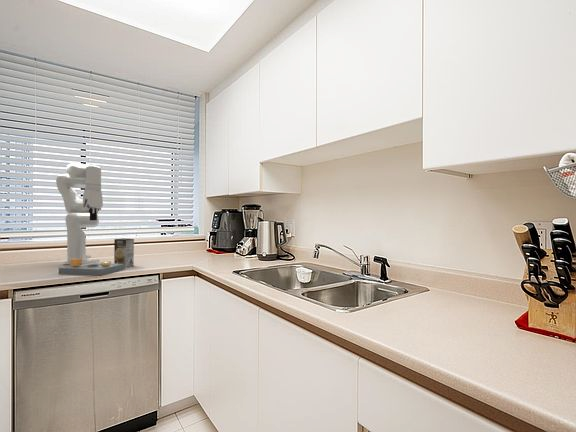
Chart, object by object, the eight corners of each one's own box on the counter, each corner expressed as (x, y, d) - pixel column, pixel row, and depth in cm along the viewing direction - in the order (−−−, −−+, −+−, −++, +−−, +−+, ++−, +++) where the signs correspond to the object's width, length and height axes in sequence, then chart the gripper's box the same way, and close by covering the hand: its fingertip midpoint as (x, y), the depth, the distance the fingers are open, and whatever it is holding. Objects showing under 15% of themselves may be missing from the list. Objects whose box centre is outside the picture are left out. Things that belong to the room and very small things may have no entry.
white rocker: (91, 263, 167) (91, 260, 167) (99, 261, 166) (99, 259, 166) (85, 264, 163) (85, 261, 163) (93, 262, 162) (93, 260, 162)
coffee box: (113, 266, 182) (113, 238, 182) (122, 264, 188) (122, 238, 188) (125, 267, 179) (125, 239, 179) (134, 265, 185) (134, 238, 185)
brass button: (105, 264, 166) (105, 261, 166) (113, 264, 165) (113, 261, 165) (98, 266, 161) (98, 262, 161) (106, 266, 160) (106, 262, 160)
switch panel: (86, 268, 175) (86, 261, 175) (125, 269, 171) (125, 262, 171) (58, 273, 157) (58, 266, 157) (100, 275, 154) (100, 268, 154)
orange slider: (75, 265, 164) (75, 258, 164) (81, 265, 164) (81, 258, 164) (70, 266, 161) (70, 259, 161) (77, 266, 161) (77, 259, 161)
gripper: (97, 189, 182) (97, 220, 182) (76, 186, 168) (76, 220, 168) (109, 189, 181) (108, 220, 181) (88, 186, 167) (88, 220, 167)
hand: (93, 220), depth 175 cm, fingers closed
